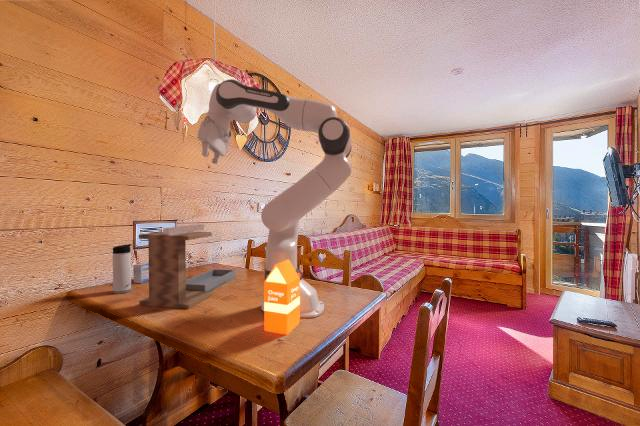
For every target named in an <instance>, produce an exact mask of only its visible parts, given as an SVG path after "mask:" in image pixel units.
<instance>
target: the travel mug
mask: <svg viewBox="0 0 640 426" xmlns="http://www.w3.org/2000/svg"><path fill="white" fill-rule="evenodd" d="M132 245H133V244H132V243H128V244H121V245H117V246H116V245H115V246H114V247H112V293H113V294H117V295H118V294H119V295H121V294H125V293H129V292H131V291H132V262H131V261H132V259H131V258H132V257H131V256H132V255H131V254H132V251H131V247H132Z"/></svg>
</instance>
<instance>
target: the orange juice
mask: <svg viewBox="0 0 640 426" xmlns="http://www.w3.org/2000/svg"><path fill="white" fill-rule="evenodd" d="M263 282H264V283H263V285H264V295H263V300H264V312H263V313H264V316H263V317H264V318H263V319H264V322H263V323H264V325H263V326H264V328H263V329H264V330H263V331H265V332H270V333H274V334H275V333H276V334H281V335H289V333H291V332H292V331H293V330H294V329H295V328H296V327H297V326H299V324H300V319H301V317H300V277H299V276H298V274H297V272H296V271H295V269H294V267H293V266H292V264H291V262H290V261H289V259H288V260H285V261H283V262H280V263H278V264H276V265H275V266H274V268H273V269H272V271H271V272H270V274H269V276H268V277H267V279H266V280H264V281H263Z"/></svg>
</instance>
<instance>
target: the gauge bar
mask: <svg viewBox="0 0 640 426" xmlns="http://www.w3.org/2000/svg"><path fill="white" fill-rule="evenodd" d="M204 230H205V224H201V223H199V224H189V225H182V226H172V227H164V228H163V227H162V232H163V235H172V234H179V233H186V232H201V231H204Z"/></svg>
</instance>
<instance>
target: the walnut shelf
mask: <svg viewBox="0 0 640 426" xmlns="http://www.w3.org/2000/svg"><path fill="white" fill-rule="evenodd" d="M211 236H213V233H212V231H193V232H186V233H179V234H172V235H163V231H157V232H150V233H148V232H147V233H142V234H141V233H140V234H138V239H139V240H143V239H144V240H148V262H149V281H148V297H146V298H144V299H141V300H139V302H138V303H139V306H143V307H144V306H145V307H157V308H159V307H160V308H171V309H183V310H185V309H186V310H190V309H192V308H193V307H194V306H197V305H198V304H200V303H202V302H204V301H205V300H207V299H208V297H209V298H211V297H212V296H213V291H210V292H206V291H189V290H186V280H187V279H186V278H187V277H186V276H187V275H186V274H187V270H186V268H187V267H186V265H187V263H186V260H187V259H186V256H187V255H186V254H187V253H186V246H187V245H186V244H187V243H186V241H191V240H196V239H201V238H206V237H207V238H208V237H211ZM201 301H202V302H201ZM196 304H197V305H196Z"/></svg>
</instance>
